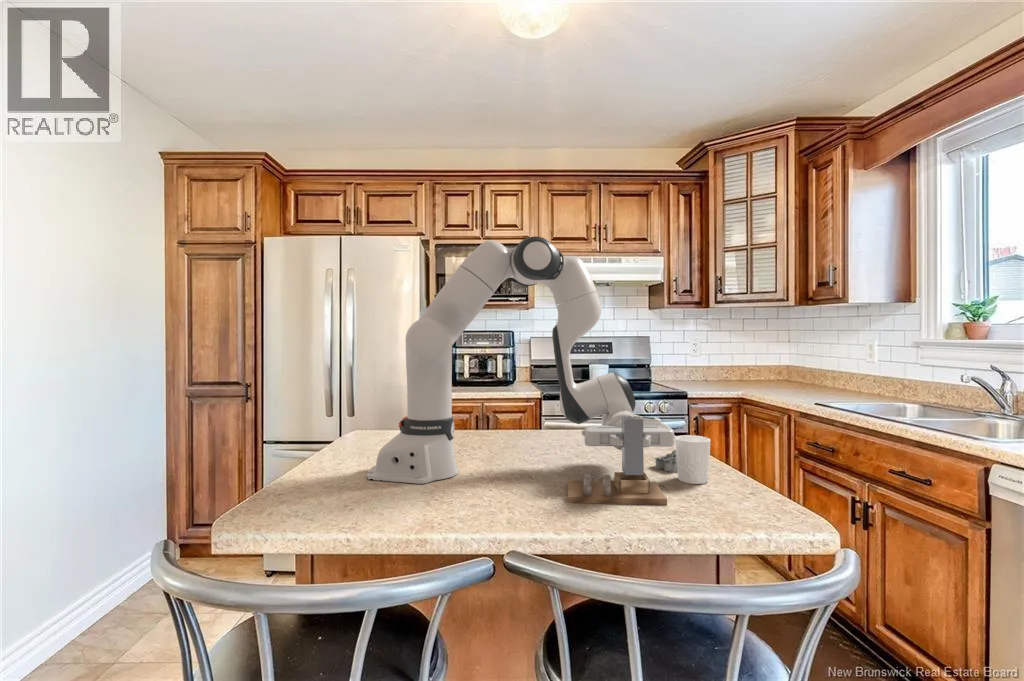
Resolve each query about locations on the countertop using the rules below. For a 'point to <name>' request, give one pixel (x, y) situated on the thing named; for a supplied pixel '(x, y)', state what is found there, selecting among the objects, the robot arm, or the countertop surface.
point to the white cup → (692, 458)
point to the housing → (616, 490)
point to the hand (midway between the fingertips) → (633, 443)
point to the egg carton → (667, 462)
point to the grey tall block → (632, 445)
